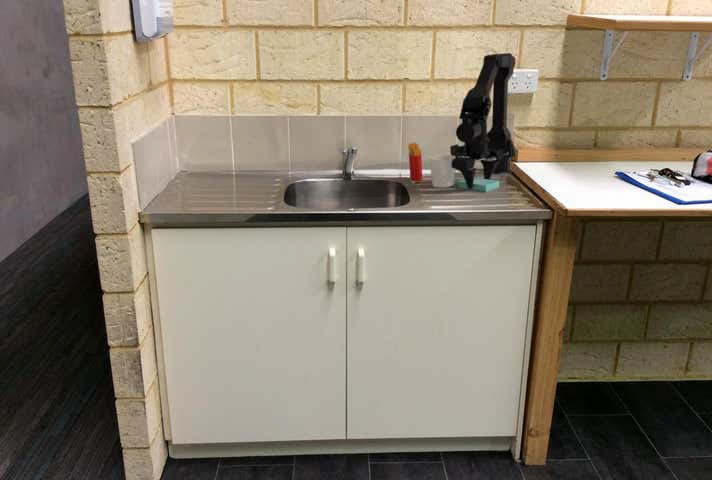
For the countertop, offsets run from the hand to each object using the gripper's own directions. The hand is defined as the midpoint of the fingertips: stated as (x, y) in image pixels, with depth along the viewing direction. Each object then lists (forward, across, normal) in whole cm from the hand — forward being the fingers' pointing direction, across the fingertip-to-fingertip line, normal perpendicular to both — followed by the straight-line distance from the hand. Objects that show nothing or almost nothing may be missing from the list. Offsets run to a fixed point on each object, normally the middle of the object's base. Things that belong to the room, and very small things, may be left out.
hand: (478, 185), depth 190 cm
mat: (+2, 0, 0) cm, 2 cm away
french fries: (+2, +1, -26) cm, 26 cm away
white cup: (+2, +3, -12) cm, 12 cm away
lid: (0, 0, 0) cm, 0 cm away
